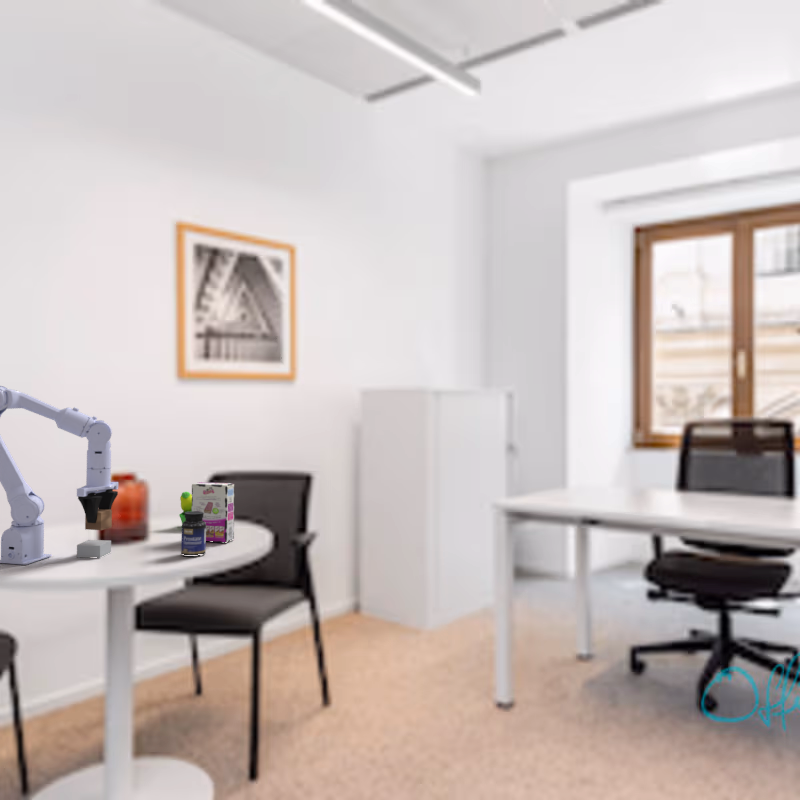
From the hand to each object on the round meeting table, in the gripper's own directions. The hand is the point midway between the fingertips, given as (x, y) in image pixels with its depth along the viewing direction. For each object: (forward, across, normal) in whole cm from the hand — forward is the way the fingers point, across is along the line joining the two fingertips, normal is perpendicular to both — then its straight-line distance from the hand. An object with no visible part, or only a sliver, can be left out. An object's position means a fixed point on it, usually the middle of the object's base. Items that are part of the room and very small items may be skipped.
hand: (97, 521), depth 181 cm
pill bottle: (+9, +7, -23) cm, 26 cm away
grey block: (+9, 0, +1) cm, 9 cm away
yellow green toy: (+9, +40, -6) cm, 41 cm away
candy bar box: (+9, +24, -20) cm, 32 cm away
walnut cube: (+2, 0, 0) cm, 2 cm away
